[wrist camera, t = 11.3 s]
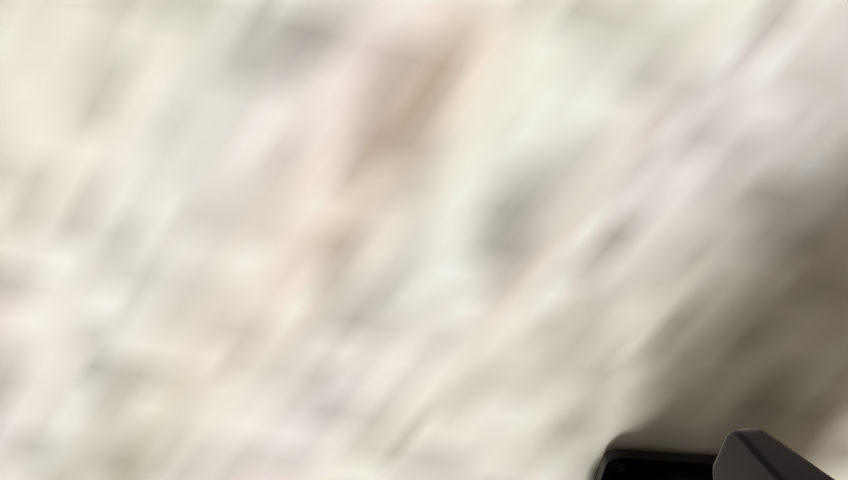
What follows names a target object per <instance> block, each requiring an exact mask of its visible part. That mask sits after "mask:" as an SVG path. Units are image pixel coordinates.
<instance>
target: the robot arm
mask: <svg viewBox="0 0 848 480" xmlns="http://www.w3.org/2000/svg"><path fill="white" fill-rule="evenodd" d="M618 462H620V463H618ZM615 463H618V464H615ZM595 480H834V479H833V478H831V477H830V476H829V475H827V474H826V473H824V472H823V471H821V470H820V469H818V468H817V467H816V466H814V465H813V464H811V463H810V462H808V461H807V460H806V459H804V458H803V457H801V456H800V455H798V454H797V453H795V452H794V451H793V450H791V449H790V448H788V447H787V446H785V445H784V444H782V443H781V442H780V441H778V440H777V439H775V438H774V437H772V436H771V435H770V434H768V433H767V432H765V431H763V430H761V429H759V428H742V429H733V430H731V431H730V432H729V433H728V434H727V435H726V437H725V440H724V442H723V444H722V446H721V449H720V451H719V453H718V456H704V455H691V454H678V453H664V452H651V451H637V450H624V449H614V450H611V451H609V452H607V453H606V454H605V455H604V457H603V458H602V461H601V464H600V467H599V470H598V473H597V476H596V479H595Z"/></svg>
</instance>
